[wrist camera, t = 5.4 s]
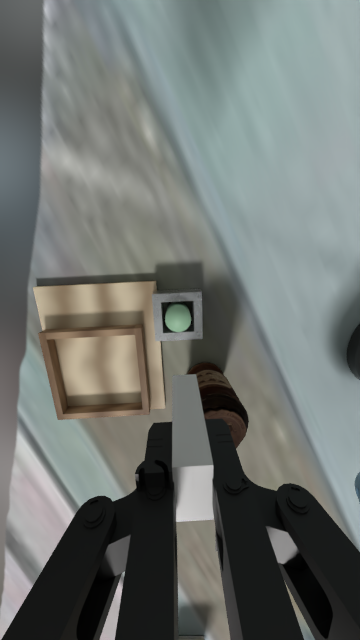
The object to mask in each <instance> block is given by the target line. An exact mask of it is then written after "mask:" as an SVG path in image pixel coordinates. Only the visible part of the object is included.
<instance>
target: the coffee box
mask: <svg viewBox="0 0 360 640" xmlns="http://www.w3.org/2000/svg"><path fill="white" fill-rule="evenodd" d="M178 640H204V636H178Z"/></svg>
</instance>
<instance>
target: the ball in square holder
mask: <svg viewBox="0 0 360 640" xmlns="http://www.w3.org/2000/svg"><path fill="white" fill-rule="evenodd" d="M178 301H192V325H190V326H189V327H188V328H187V329H186V330H184V331H182V332H174V331H172V330H170V329H169V328H168V327H167V326H164V319H163V305H162V302H178ZM152 304H153V317H154V329H155V341H171V340H190V339H203V327H202V291H201V290H200V289H199V288H196V289H175V290H157V291H154V292H153V293H152Z"/></svg>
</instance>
